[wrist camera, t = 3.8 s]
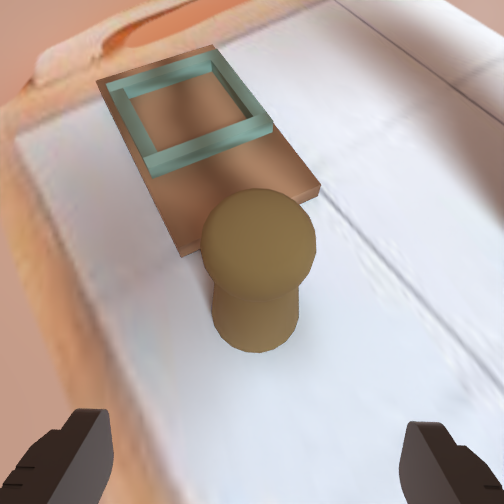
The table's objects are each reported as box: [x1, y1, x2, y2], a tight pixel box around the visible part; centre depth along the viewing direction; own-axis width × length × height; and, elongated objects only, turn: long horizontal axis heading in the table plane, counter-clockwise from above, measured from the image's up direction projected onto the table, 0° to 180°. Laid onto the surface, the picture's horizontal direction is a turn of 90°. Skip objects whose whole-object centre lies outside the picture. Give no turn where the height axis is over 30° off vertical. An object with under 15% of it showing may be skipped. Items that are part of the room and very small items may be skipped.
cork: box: [200, 188, 316, 353], centre depth 19 cm, size 6×6×11 cm
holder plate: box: [96, 45, 321, 258], centre depth 30 cm, size 12×20×3 cm, turn 28°
